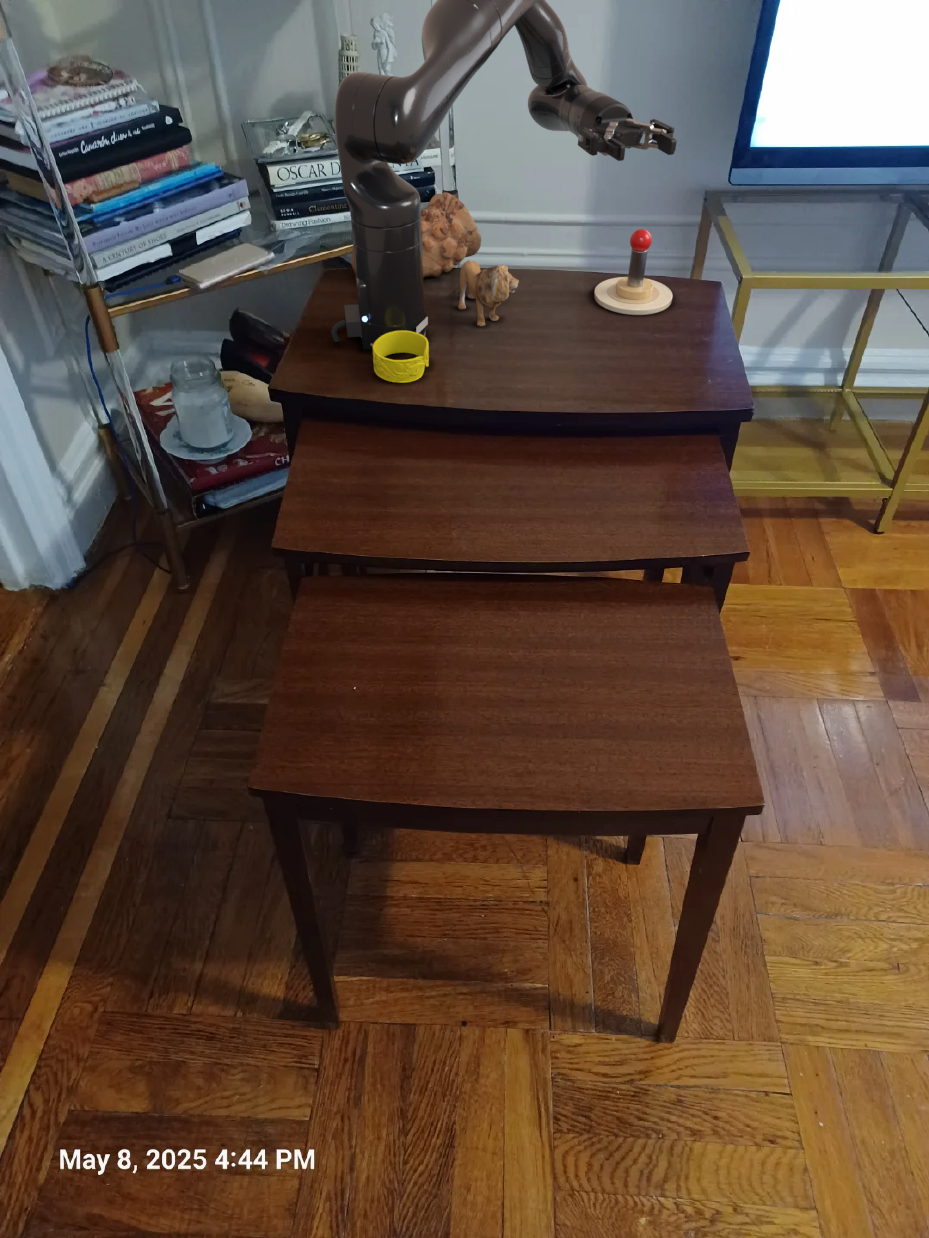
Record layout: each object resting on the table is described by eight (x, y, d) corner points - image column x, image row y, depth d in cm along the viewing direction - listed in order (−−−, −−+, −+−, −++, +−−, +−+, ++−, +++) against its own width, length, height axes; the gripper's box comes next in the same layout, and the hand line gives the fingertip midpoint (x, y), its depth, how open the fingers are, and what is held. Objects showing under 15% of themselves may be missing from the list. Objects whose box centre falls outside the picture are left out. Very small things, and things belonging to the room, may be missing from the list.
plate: (605, 317, 132) (605, 312, 132) (585, 284, 141) (586, 278, 140) (682, 312, 134) (683, 306, 133) (658, 279, 142) (659, 273, 142)
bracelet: (365, 377, 119) (364, 355, 117) (386, 347, 125) (385, 326, 122) (416, 387, 118) (416, 365, 116) (435, 356, 123) (435, 335, 121)
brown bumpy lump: (464, 316, 144) (491, 237, 147) (458, 278, 134) (488, 194, 136) (356, 289, 147) (385, 211, 149) (343, 250, 136) (374, 167, 139)
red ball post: (639, 303, 134) (648, 240, 127) (608, 293, 136) (615, 230, 130) (659, 290, 137) (668, 228, 130) (628, 281, 140) (636, 219, 133)
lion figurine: (521, 327, 130) (524, 266, 124) (491, 336, 128) (493, 275, 122) (466, 291, 139) (466, 233, 133) (437, 299, 137) (436, 241, 131)
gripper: (561, 99, 139) (608, 127, 128) (641, 92, 143) (694, 118, 132) (558, 151, 145) (602, 182, 134) (635, 142, 148) (685, 172, 137)
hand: (648, 150), depth 133 cm, fingers open, 8 cm apart
